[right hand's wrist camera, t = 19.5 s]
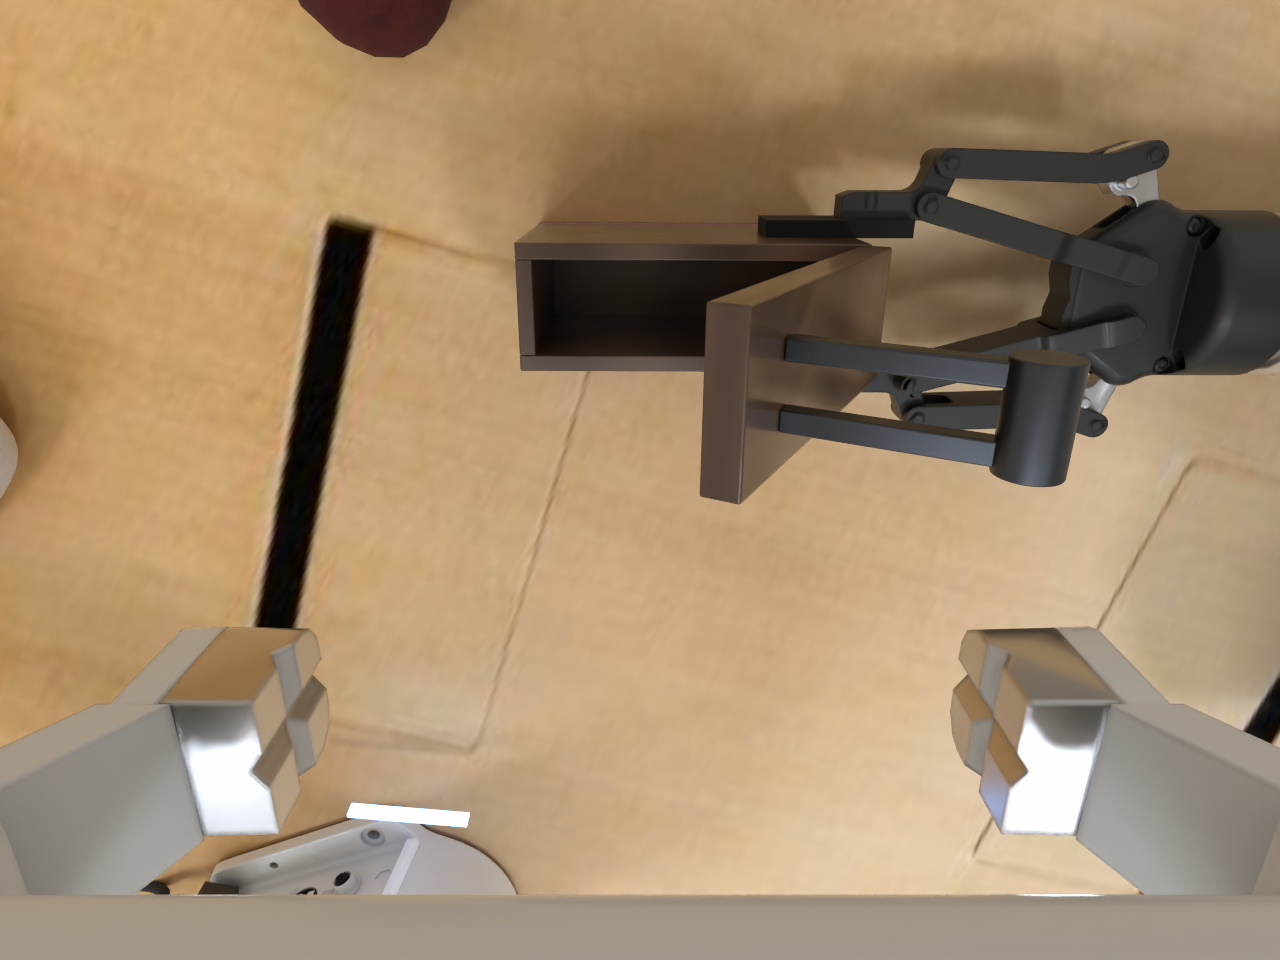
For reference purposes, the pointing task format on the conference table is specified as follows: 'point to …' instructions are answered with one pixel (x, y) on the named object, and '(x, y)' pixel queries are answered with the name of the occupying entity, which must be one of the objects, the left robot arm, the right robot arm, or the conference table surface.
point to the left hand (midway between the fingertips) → (759, 294)
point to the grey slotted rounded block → (7, 457)
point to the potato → (380, 23)
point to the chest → (640, 289)
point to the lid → (862, 382)
